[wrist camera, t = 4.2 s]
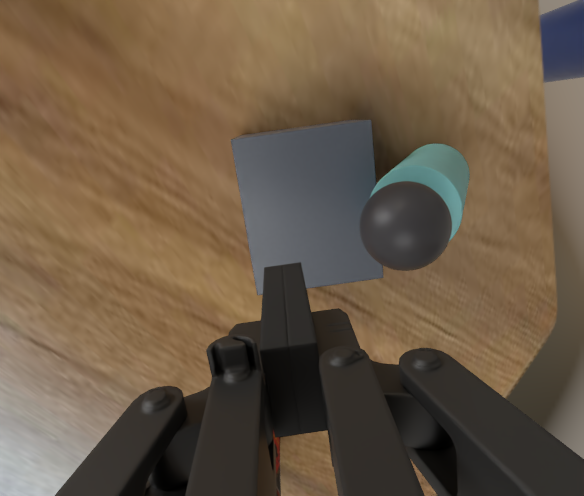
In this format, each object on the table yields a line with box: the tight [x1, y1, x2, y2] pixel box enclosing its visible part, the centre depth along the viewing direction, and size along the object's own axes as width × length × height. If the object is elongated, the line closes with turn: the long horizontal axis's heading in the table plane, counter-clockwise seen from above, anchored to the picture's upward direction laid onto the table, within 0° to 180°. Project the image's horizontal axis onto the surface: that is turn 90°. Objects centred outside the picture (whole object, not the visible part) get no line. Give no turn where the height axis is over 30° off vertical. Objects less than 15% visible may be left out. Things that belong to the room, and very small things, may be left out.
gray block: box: [231, 120, 383, 295], centre depth 36 cm, size 10×12×9 cm
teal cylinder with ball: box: [359, 144, 470, 271], centre depth 32 cm, size 12×6×19 cm, turn 98°
